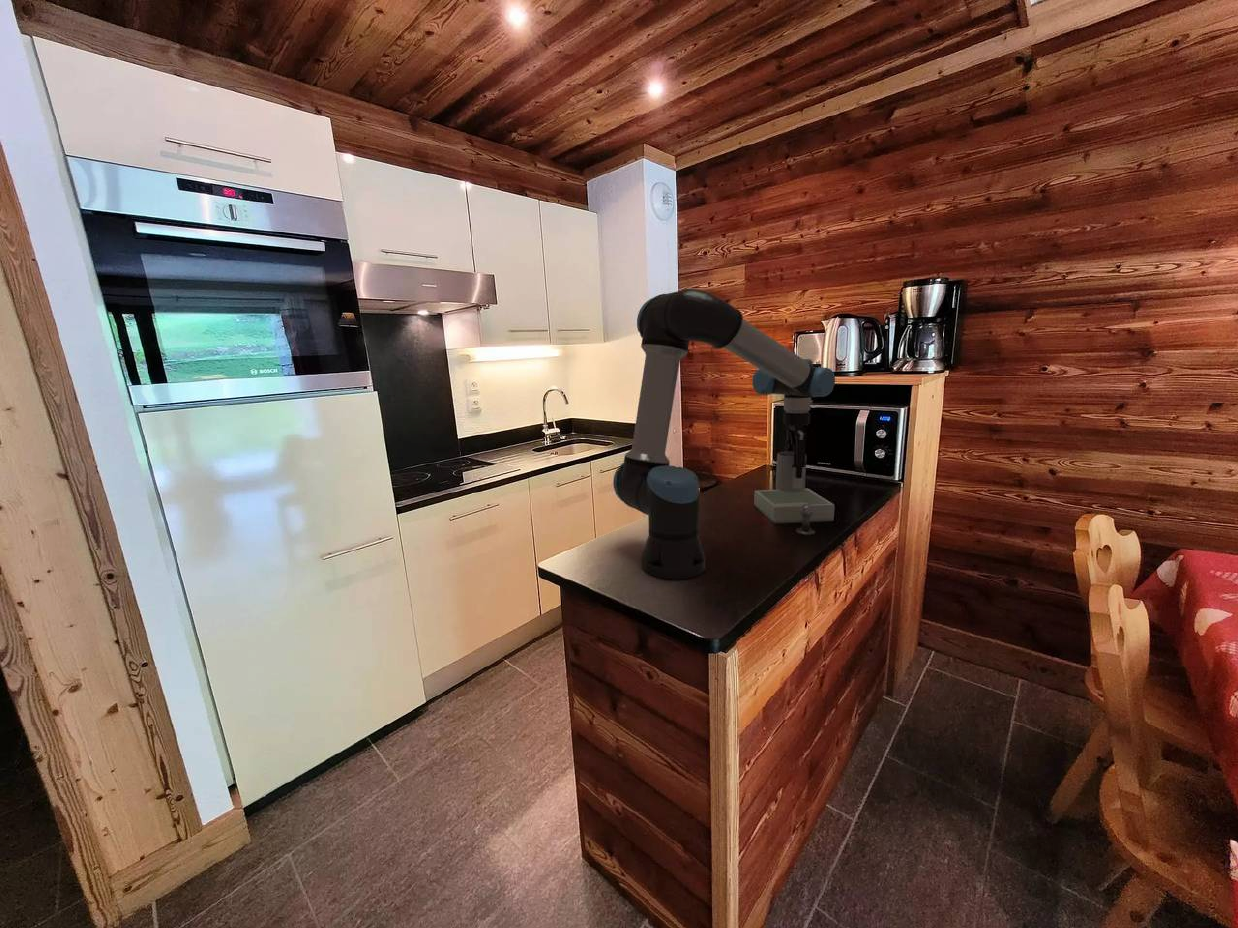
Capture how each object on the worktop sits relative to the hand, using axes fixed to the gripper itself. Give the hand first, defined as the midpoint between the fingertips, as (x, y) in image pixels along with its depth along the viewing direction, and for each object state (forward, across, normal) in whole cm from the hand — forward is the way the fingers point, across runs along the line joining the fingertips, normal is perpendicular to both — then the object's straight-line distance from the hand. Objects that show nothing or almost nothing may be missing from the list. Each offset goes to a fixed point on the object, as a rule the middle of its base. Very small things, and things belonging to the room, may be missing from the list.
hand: (793, 483), depth 149 cm
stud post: (+9, -17, 0) cm, 20 cm away
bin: (+9, 0, 0) cm, 9 cm away
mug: (+2, +1, 0) cm, 2 cm away
